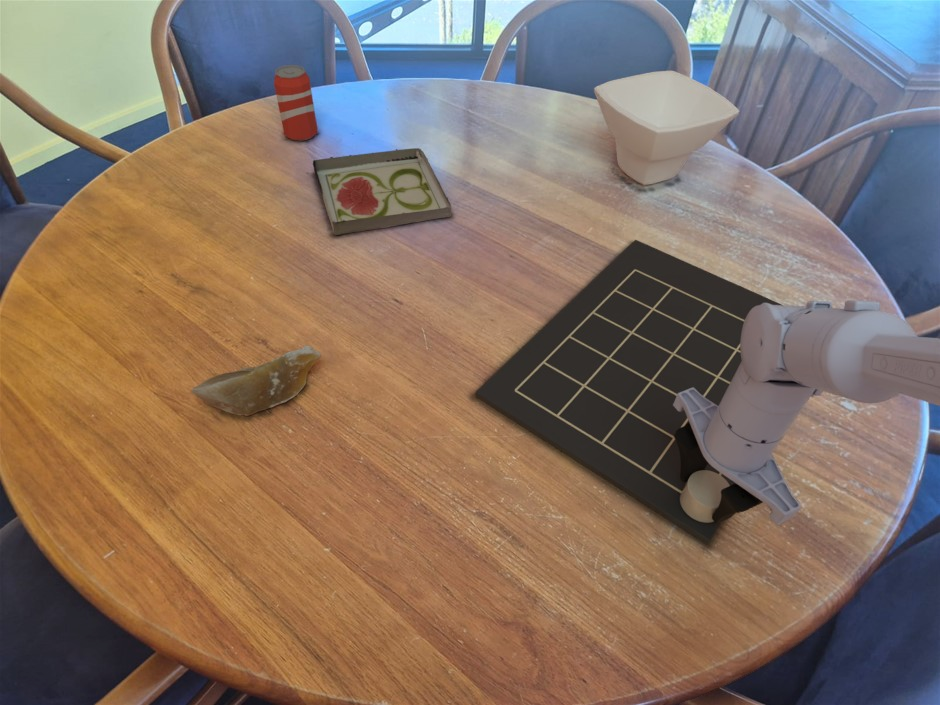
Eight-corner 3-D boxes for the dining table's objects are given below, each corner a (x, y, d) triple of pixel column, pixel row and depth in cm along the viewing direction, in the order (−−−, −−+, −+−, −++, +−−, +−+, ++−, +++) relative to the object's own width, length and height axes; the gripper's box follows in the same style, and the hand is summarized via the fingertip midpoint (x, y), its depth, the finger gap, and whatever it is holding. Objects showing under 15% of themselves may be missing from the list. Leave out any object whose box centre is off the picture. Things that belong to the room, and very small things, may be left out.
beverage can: (305, 123, 121) (293, 60, 112) (324, 135, 118) (315, 71, 109) (278, 134, 118) (264, 70, 109) (298, 146, 115) (285, 81, 106)
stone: (177, 364, 69) (306, 316, 73) (193, 388, 74) (312, 342, 79) (197, 418, 66) (330, 365, 71) (212, 439, 72) (334, 388, 76)
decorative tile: (424, 161, 114) (313, 170, 109) (424, 145, 112) (311, 154, 107) (452, 224, 101) (327, 238, 96) (453, 208, 98) (325, 221, 94)
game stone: (731, 513, 64) (741, 498, 62) (697, 529, 63) (707, 514, 60) (704, 479, 67) (712, 464, 64) (670, 494, 65) (678, 478, 63)
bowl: (571, 161, 114) (584, 85, 104) (655, 139, 120) (674, 66, 110) (634, 214, 102) (654, 135, 92) (723, 187, 109) (751, 110, 99)
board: (707, 545, 63) (710, 540, 62) (475, 397, 75) (475, 391, 74) (829, 332, 84) (833, 326, 84) (634, 244, 97) (635, 238, 96)
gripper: (853, 465, 50) (786, 542, 60) (731, 347, 59) (691, 431, 69) (788, 497, 48) (730, 571, 58) (672, 369, 57) (639, 452, 67)
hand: (705, 497), depth 64 cm, fingers closed on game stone, 4 cm apart
